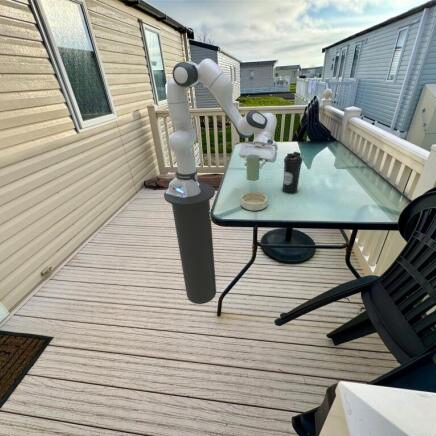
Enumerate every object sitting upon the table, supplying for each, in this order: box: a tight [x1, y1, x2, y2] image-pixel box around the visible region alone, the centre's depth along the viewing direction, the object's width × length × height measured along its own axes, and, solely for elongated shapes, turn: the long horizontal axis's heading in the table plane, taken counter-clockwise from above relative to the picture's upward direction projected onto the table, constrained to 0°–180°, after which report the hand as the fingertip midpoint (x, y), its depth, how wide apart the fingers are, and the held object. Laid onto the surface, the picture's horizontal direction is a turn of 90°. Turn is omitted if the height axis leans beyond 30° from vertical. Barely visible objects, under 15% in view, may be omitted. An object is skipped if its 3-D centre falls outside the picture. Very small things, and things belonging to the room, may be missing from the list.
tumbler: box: [246, 154, 261, 182], centre depth 127 cm, size 7×7×12 cm
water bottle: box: [282, 151, 304, 195], centre depth 143 cm, size 10×10×23 cm
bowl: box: [240, 191, 268, 212], centre depth 133 cm, size 14×14×4 cm
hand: (252, 166), depth 126 cm, fingers closed on tumbler, 6 cm apart
